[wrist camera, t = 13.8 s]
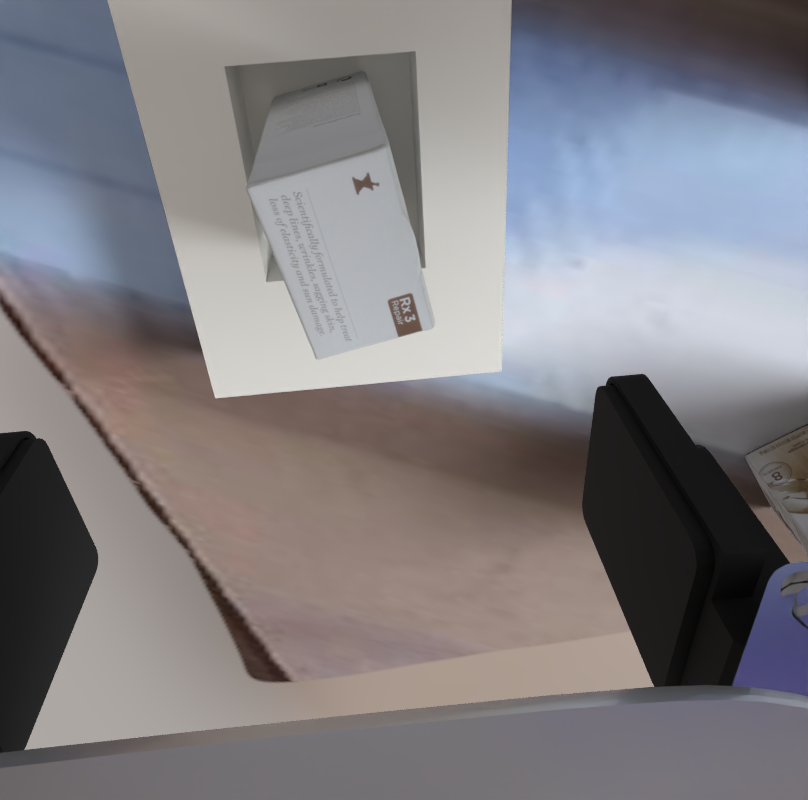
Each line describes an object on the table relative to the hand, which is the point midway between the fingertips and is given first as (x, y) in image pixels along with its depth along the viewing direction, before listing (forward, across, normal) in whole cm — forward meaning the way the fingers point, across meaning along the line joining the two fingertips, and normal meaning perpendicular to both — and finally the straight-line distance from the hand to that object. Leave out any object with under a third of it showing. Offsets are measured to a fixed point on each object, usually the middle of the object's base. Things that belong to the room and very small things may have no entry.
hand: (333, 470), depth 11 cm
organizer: (+22, 0, 0) cm, 22 cm away
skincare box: (+22, 0, 0) cm, 22 cm away
